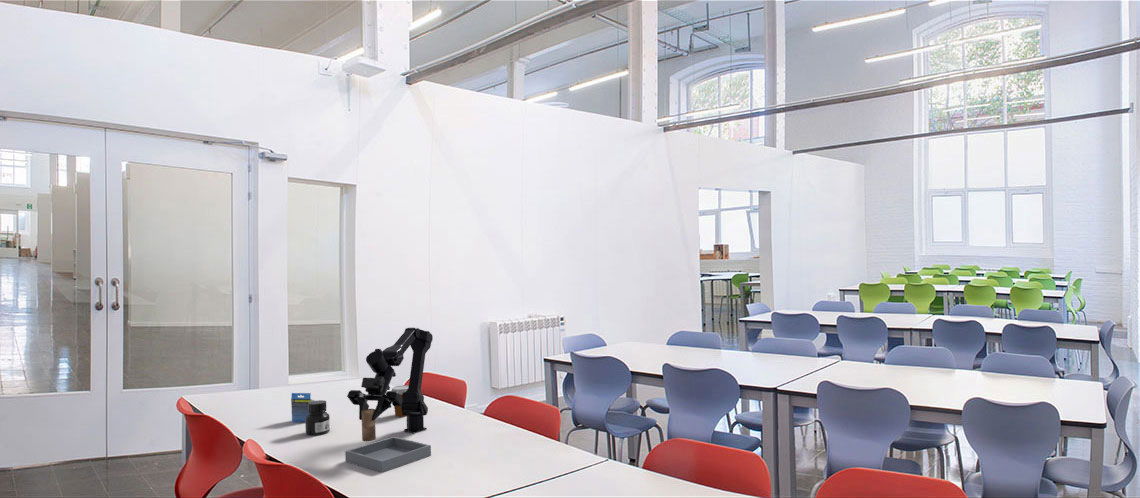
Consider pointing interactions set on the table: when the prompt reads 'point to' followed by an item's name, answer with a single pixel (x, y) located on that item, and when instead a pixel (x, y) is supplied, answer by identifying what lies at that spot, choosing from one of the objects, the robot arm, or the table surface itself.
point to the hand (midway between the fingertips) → (366, 419)
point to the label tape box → (300, 406)
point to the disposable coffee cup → (400, 390)
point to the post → (368, 425)
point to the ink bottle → (317, 418)
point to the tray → (388, 454)
